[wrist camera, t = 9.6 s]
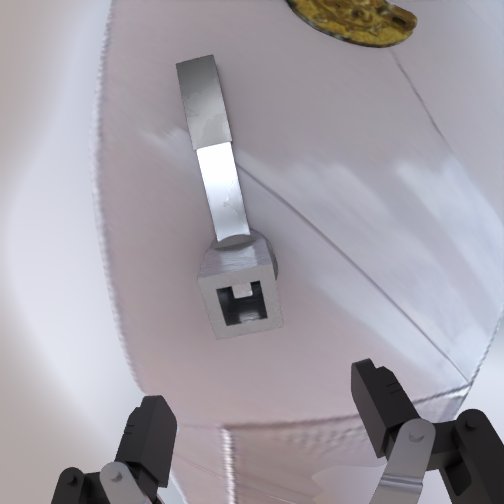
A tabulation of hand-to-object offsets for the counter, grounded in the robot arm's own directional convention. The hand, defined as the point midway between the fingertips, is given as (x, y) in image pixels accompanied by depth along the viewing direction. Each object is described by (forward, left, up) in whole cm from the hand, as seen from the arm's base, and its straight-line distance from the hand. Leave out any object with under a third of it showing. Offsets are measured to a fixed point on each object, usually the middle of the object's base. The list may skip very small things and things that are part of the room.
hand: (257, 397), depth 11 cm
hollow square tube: (0, -1, -15) cm, 15 cm away
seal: (-24, +16, -19) cm, 34 cm away
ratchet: (-7, -1, -18) cm, 20 cm away
